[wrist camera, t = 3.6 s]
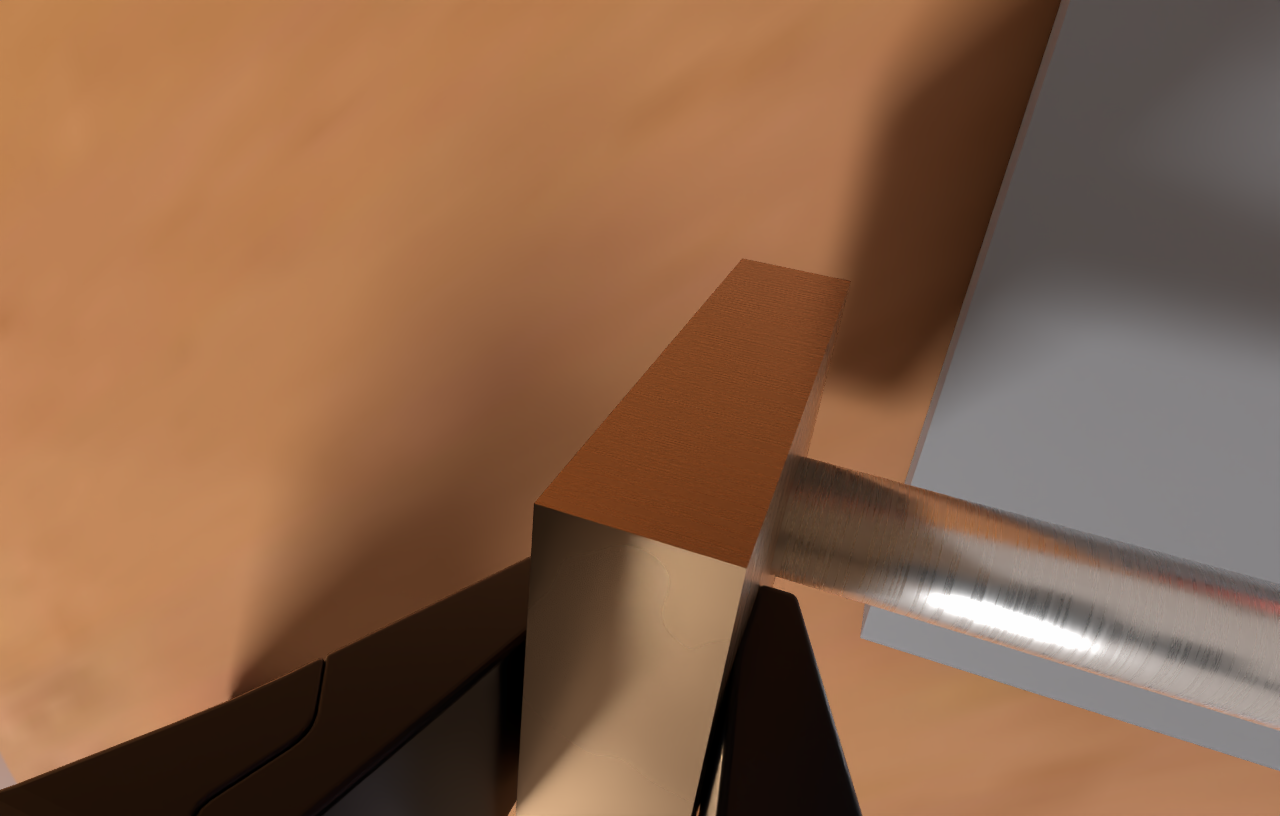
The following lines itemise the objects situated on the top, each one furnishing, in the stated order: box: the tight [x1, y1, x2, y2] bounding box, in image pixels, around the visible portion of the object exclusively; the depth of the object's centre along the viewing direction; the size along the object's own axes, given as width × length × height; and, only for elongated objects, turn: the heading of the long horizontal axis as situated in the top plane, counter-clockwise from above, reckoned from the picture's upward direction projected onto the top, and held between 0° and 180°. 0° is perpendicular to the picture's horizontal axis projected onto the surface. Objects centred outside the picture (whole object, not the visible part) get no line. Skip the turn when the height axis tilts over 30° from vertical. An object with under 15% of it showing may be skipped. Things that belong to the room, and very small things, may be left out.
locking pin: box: [516, 259, 1280, 816], centre depth 8 cm, size 13×5×7 cm, turn 83°
